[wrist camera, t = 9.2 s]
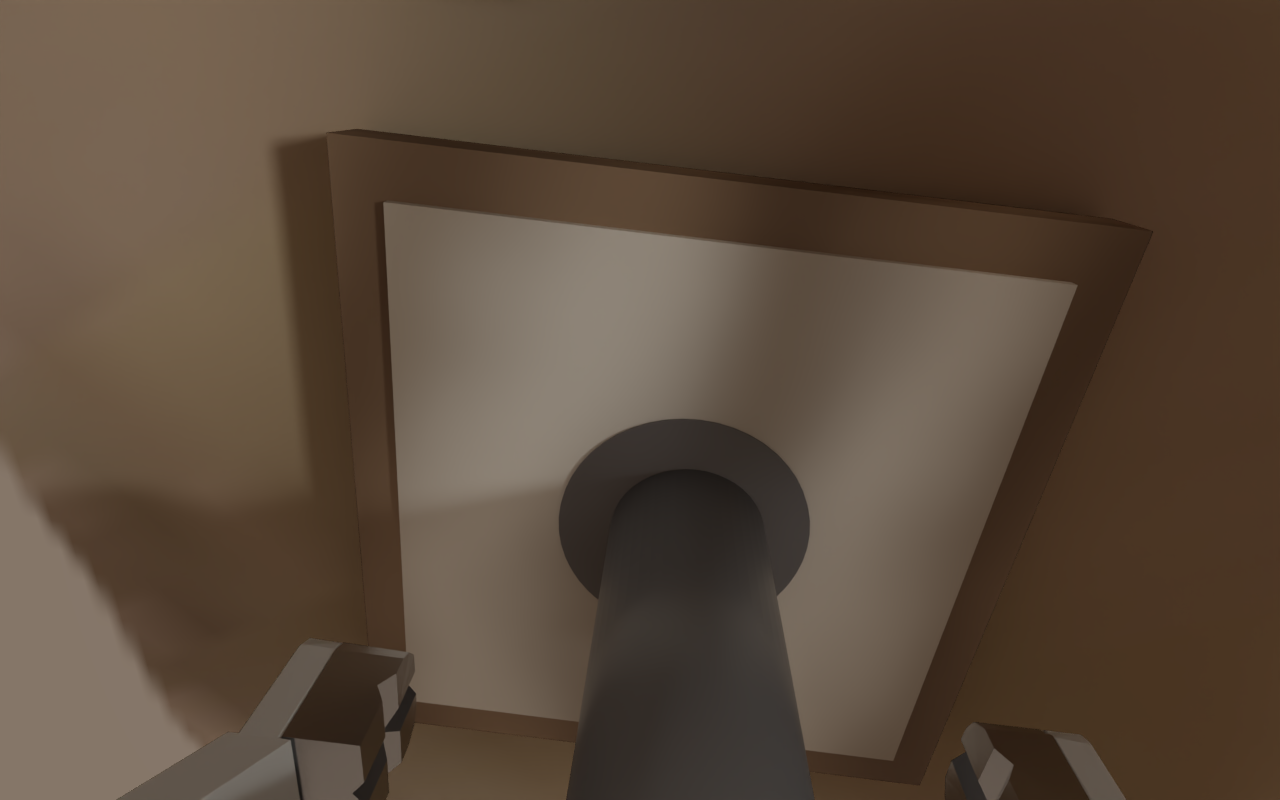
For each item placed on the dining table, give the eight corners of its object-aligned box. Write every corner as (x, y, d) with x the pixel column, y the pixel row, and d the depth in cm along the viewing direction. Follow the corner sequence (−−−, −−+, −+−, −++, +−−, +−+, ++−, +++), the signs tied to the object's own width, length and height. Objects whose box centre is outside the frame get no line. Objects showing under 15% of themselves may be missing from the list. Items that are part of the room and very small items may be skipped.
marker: (784, 476, 13) (999, 1299, 4) (753, 608, 15) (865, 1430, 6) (612, 455, 13) (468, 1231, 4) (598, 589, 15) (468, 1381, 6)
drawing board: (1111, 218, 12) (1164, 234, 11) (905, 743, 18) (923, 795, 17) (357, 129, 13) (318, 134, 11) (392, 680, 18) (369, 727, 17)
